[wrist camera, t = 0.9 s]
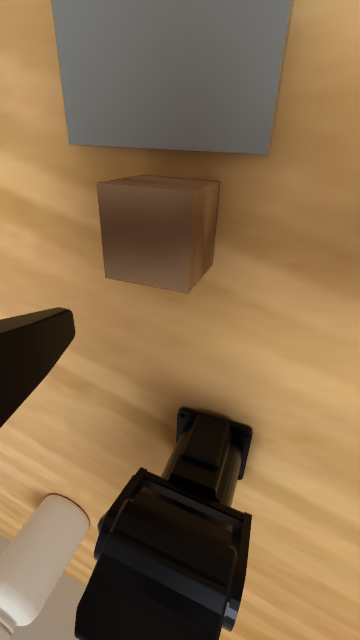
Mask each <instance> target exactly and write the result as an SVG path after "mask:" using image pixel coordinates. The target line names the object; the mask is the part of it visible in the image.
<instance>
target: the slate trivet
mask: <svg viewBox="0 0 360 640" xmlns="http://www.w3.org/2000/svg"><path fill="white" fill-rule="evenodd" d="M51 1H52V9H53V17H54V25H55V33H56V41H57V49H58V57H59V65H60V73H61V82H62V90H63V98H64V106H65V114H66V122H67V130H68V138H69V144H73V145H92V146H112V147H131V148H151V149H170V150H190V151H210V152H229V153H249V154H269V151H270V145H271V139H272V132H273V126H274V120H275V113H276V107H277V101H278V94H279V88H280V82H281V75H282V69H283V63H284V56H285V50H286V44H287V37H288V31H289V25H290V18H291V12H292V6H293V0H51Z"/></svg>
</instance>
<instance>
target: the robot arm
mask: <svg viewBox="0 0 360 640" xmlns="http://www.w3.org/2000/svg"><path fill="white" fill-rule="evenodd" d="M74 336H75V326H74V319H73V313H72V311H71V310H69V309H65V308H61V307H57V308H53V309H48V310H43V311H39V312H34V313H29V314H25V315H20V316H15V317H11V318H6V319H1V320H0V428H1V427H2V426H3V424H4V423H5V422H6V421H7V420H8V419H9V418H10V416H11V415H12V414H13V413H14V412H15V411H16V410H17V409H18V407H19V406H20V405H21V404H22V403H23V402H24V401H25V400H26V398H27V397H28V396H29V395H30V394H31V393H32V392H33V391H34V389H35V388H36V387H37V386H38V385H39V384H40V383H41V381H42V380H43V379H44V378H45V377H46V376H47V374H48V373H49V372H50V371H51V369H52V368H53V367H54V365H55V364H56V362H57V361H58V360H59V358H60V357H61V355H62V354H63V353H64V351H65V350H66V349H67V347H68V346H69V344H70V343H71V342H72V340H73V339H74ZM183 413H184V414H183ZM247 433H248V434H247ZM252 434H253V431H252V430H251V429H250V428H248V427H246V426H242V425H239V424H236V423H232V422H229V421H226V420H223V419H219V418H216V417H213V416H209V415H206V414H203V413H200V412H196V411H193V410H190V409H186V408H180V409H179V411H178V414H177V436H176V445H175V447H174V450H173V452H172V454H171V456H170V458H169V460H168V463H167V465H166V467H165V469H164V471H163V473H162V476H161V477H160V476H157V475H155V474H153V473H150V472H148V471H147V469H144V468H142V467H140V469H139V470H138V472H137V473H136V474H135V475H133V476H132V478H131V479H130V481H129V482H128V483H127V485H126V486H125V488H124V489H123V491H122V492H121V493H120V495H119V496H118V498H117V499H116V500H115V502H114V503H113V505H112V506H111V507H110V509H109V510H108V511H107V512H106V513H105V514H104V515H103V516H102V517H101V519H100V521H99V523H98V531H99V536H98V539H97V543H96V546H95V550H94V559H95V560H97V563H96V565H95V568H94V570H93V573H92V575H91V578H90V580H89V582H88V585H87V587H86V589H85V592H84V594H83V596H82V598H81V600H80V602H79V604H78V607H77V612H76V622H75V637H76V638H77V639H79V640H219V637H220V632H221V628H224V629H226V630H228V631H230V632H231V631H232V629H233V627H234V624H235V621H236V617H237V614H238V610H239V606H240V602H241V597H242V593H243V588H244V582H245V576H246V569H247V559H248V549H249V539H250V529H251V520H252V515H251V514H248V513H246V512H244V513H242V512H240V511H238V510H236V509H233V508H231V505H232V500H233V496H234V492H235V487H236V483H237V480H241V479H242V478H243V475H244V470H245V466H246V461H247V457H248V452H249V448H250V443H251V439H252Z"/></svg>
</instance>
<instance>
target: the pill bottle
mask: <svg viewBox="0 0 360 640" xmlns="http://www.w3.org/2000/svg"><path fill="white" fill-rule="evenodd" d="M88 528H89V520H88V518H87V516H86V514H85V513H84V512H83V511H82V510H81V509H80V508H79V507H78V506H77V505H76V504H75V503H73V502H72V501H70V500H68V499H67V498H64V497H62V496H59V495H49V496H47V497H46V498H45V499H44V500H43V501H42V503H41V504H40V505H39V506H38V508H37V509H36V510H35V512H34V513H33V514H32V516H31V517H30V518H29V519H28V521H27V522H26V523H25V525H24V526H23V527H22V529H21V530H20V531H19V532H18V534H17V535H16V536H15V538H14V539H13V540H12V542H11V543H10V544H9V545H8V547H7V548H6V550H5V551H4V552H3V554H2V555H1V556H0V640H11V637H10V635H13V634H14V630H13V629H14V627H15V626H25V625H28V624H30V623H31V622H32V621H33V620H34V619H35V618H36V617H37V616H38V614H39V612H40V611H41V609H42V607H43V606H44V604H45V602H46V600H47V599H48V597H49V595H50V593H51V592H52V590H53V589H54V587H55V585H56V584H57V582H58V580H59V578H60V577H61V575H62V573H63V572H64V570H65V568H66V567H67V565H68V563H69V561H70V560H71V558H72V556H73V555H74V553H75V551H76V550H77V548H78V546H79V545H80V543H81V541H82V539H83V538H84V536H85V534H86V532H87V530H88Z"/></svg>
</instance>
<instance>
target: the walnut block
mask: <svg viewBox="0 0 360 640" xmlns="http://www.w3.org/2000/svg"><path fill="white" fill-rule="evenodd" d="M219 189H220V181H210V180H197V179H184V178H171V177H159V176H146V175H140V176H134V177H128V178H123V179H117V180H111V181H105V182H99V183H97V191H98V202H99V213H100V224H101V235H102V246H103V257H104V268H105V278H109V279H114V280H119V281H125V282H130V283H135V284H140V285H146V286H151V287H156V288H161V289H167V290H172V291H177V292H182V293H187V294H188V293H189V292H190V290H191V289H192V288H193V287H194V286H195V284H196V283H197V282H198V281H199V280H200V279H201V277H202V276H203V275H204V274H205V273H206V272H207V270H208V269H209V268H210V267H211V266H212V265H213V255H214V244H215V233H216V222H217V211H218V200H219Z"/></svg>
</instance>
